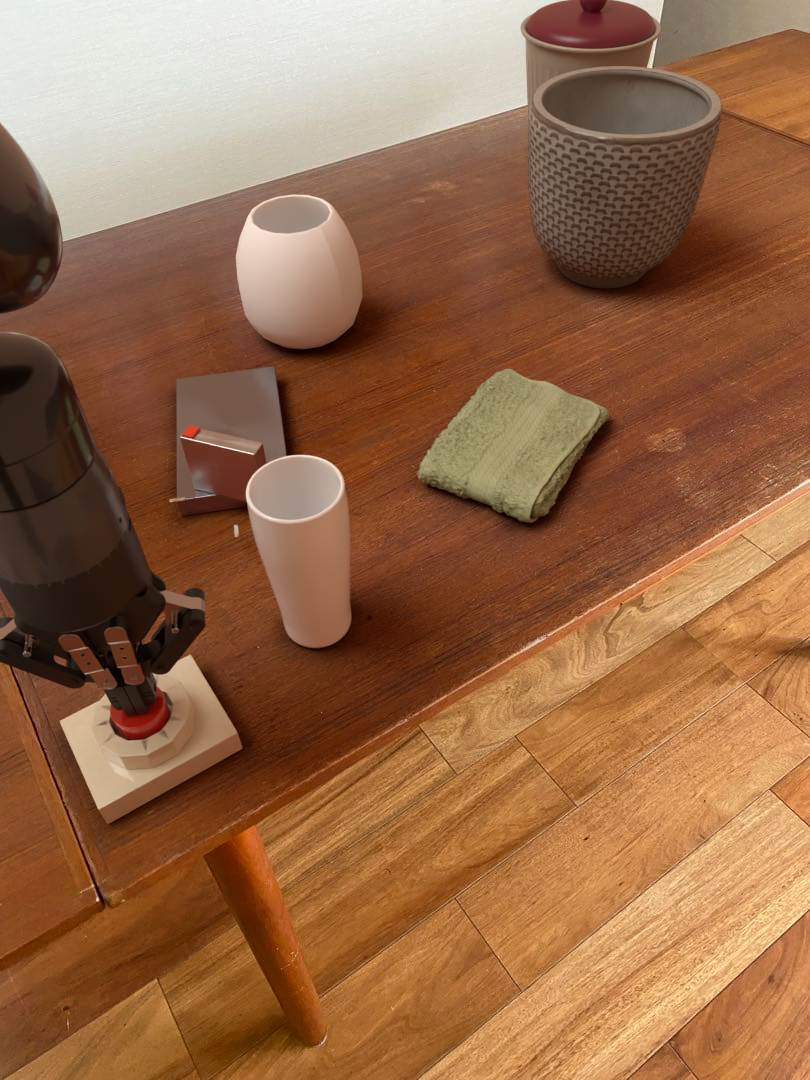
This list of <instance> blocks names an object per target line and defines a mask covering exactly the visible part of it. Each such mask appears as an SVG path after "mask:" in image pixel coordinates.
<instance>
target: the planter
mask: <svg viewBox="0 0 810 1080" xmlns="http://www.w3.org/2000/svg"><path fill="white" fill-rule="evenodd" d="M722 111H723V104H722V100H721V98H720V97H719V95H718V94H717V93H716V92H715V90H713V89H712V88H711V87H709V86H708V85H706V84H705V83H703V82H702V81H699V80H697V79H695V78H693V77H690V76H687V75H684V74H682V73H677V72H674V71H669V70H665V69H658V68H652V67H647V68H645V67H633V66H606V67H594V68H586V69H580V70H575V71H571V72H567V73H564V74H561V75H558V76H555V77H553V78H551V79H549V80H547V81H546V82H544V83H543V84H541V85H540V86H539V87H538V88H537V89H536V90H535V91H534V93H533V95H532V98H531V103H530V109H529V119H528V126H527V127H528V128H527V129H528V131H527V134H528V135H527V136H528V137H527V142H528V143H527V148H528V149H527V187H528V188H527V189H528V207H529V217H530V218H529V219H530V223H531V227H532V230H533V234H534V237H535V239H536V241H537V243H538V244H539V247H540V248H541V250H542V251H543V252H544V253H545V254H546V256H547V257H548V258H550V260H551V261H552V262H553V263H554V264H555V265H556V267H557V269H558V270H559V272H560V273H561V274H562V275H563V276H564V277H565V278H567V279H568V280H569V281H571V282H573V283H576V284H578V285H580V286H584V287H588V288H592V289H604V290H606V289H618V288H623V287H626V286H630V285H631V284H634V283H635V282H637V281H639V280H640V279H641V278H642V277H643V276H644V275H645V274H646V273H647V272H648V271H650V270H651V269H654V268H656V267H657V266H658V265H659V264H661V263H662V262H664V261H665V260H666V259H667V258H668V257H669V256H670V255H671V254H672V253H673V252H674V251H675V250H676V249H677V247H678V246H679V245H680V243H681V241H682V239H683V238H684V235H686V232H687V230H688V228H689V225H690V223H691V222H692V221H691V220H692V218H693V215H694V212H695V210H696V207H697V204H698V201H699V198H700V195H701V192H702V190H703V186H704V183H705V179H706V176H707V172H708V169H709V166H710V162H711V159H712V155H713V151H714V149H715V145H716V142H717V138H718V136H719V135H718V134H719V130H720V128H721V121H722Z"/></svg>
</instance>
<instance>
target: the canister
mask: <svg viewBox="0 0 810 1080" xmlns="http://www.w3.org/2000/svg"><path fill="white" fill-rule="evenodd" d="M520 32H521V35H522V37H523V38H525V41H524V43H525V69H526V70H525V71H526V97H527V118H528V120H529V109H530V103H531V98H532V95H533V93H534V91H535V90H536V89H537V88H538V87H539V86H540V85H541V84H543V83H544V82H546V81H547V80H549V79H551V78H553V77H555V76H558V75H561V74H564V73H567V72H571V71H575V70H580V69H586V68H594V67H606V66H633V67H645V68H648V67H649V66H648V65H649V62H650V57H651V54H652V50H653V45H654V42H655V41H656V40H657V39H658V38H659V37H660V36H661V33H662V25H661V23H660V22H659V21H658V19H656V18H655V17H653V16H652V15H651V14H650V13H649V12H648V11H647V10H645V9H643V8H641V7H640V6H637V5H635V4H632V3H628V2H625V1H620V0H560V1H556V2H553V3H549V4H547V5H544V6H542V7H540V8H538V9H537V10H535V12H533V13H532V14H530V15H528V16H527V17H525V18H524V19H523V20H522V22H521V24H520Z"/></svg>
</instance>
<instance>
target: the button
mask: <svg viewBox="0 0 810 1080" xmlns="http://www.w3.org/2000/svg"><path fill="white" fill-rule="evenodd" d="M110 715H111V718H112V720H113V722H114V724H115V726H116V728H117V729H118V731H119V733H120V734H121V735H122V736H123V737H124V738H126V739H128V740H144V739H146V738H148V737H150V736H152V735H154V734H156V733H158V732H159V731H161V730H162V729H163V727H164V726H165V725H166V723H167V722H168V720H169V717H170V710H169V706H168V704H167V702H166V699H165V697H164V695H163V693H162V691H161V690H160V688H159V687H157V686H156V702H155V704H153V705H150V711H149V713H143V714H138V715H132V716H126V715H125V713H124V711H123V710H116V709H115V708H113V707H112V705H111V706H110Z"/></svg>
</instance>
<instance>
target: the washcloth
mask: <svg viewBox="0 0 810 1080" xmlns="http://www.w3.org/2000/svg"><path fill="white" fill-rule="evenodd" d="M610 415H611V414H610V412H609V410H608V409H607V408H606V407H604V406H602V405H600V404H598V403H596V402H594V401H592V400H590V399H587V398H584V397H581V396H577V395H574V394H572V393H568V392H567V391H566V390H564V389H563V388H561V387H559V386H557V385H555V384H554V383H551V382H549V381H546V380H535V379H530V378H528V377H526V376H523V375H521V374H520V373H518V372H517V371H515V370H513V369H511V368H504V369H503V370H500V371H496V372H495V373H493V375H491V376H490V377H489V378H488V379H486V381H484V382H482V383H481V384H480V385H479V387H477V389H476V392H475V394H472V395H471V396H470V399H469V400H468V402H466V403H465V405H464V406H463V407H462V408H461V409H460V411H458V412H457V414H456V416H454V417H453V418H452V420H450V422H449V423H448V424H447V427H446V428H445V429H442V431H440V433H438V436H437V437H435V439H434V442H433V443H432V444H431V448H430V449H428V450H427V451H426V455H425V456H423V459H422V461H421V462H420V463H419V467H418V468H419V470H417V472H416V475H417V478H418V480H420V483H422V484H424V485H430V486H431V487H433V488H437V489H439V490H443V491H447V492H449V493H450V494H455V495H456V496H457V497H458V498H459V497H460V498H462V499H472V500H474V501H477V502H478V503H481V504H484V505H485V504H486V505H487V506H490V507H491V508H492V510H493V511H496V512H498V513H500V514H502V513H505V515H506V516H508V517H511V518H513V519H516V520H518V521H519V522H520V523H522V522H524V523H528V524H531V523H534V522H536V521H537V520H538V519H539V518H540V517H543V516H546V515H547V514H549V513H550V509H551V508H552V507H553V506H554V505H556V499H557V498H558V496H559V493H560V492H561V490H562V489H563V488H564V486H565V485H566V484H567V482H568V481H569V478H570V477H571V473H572V471H573V470H574V467H575V464H577V462H578V460H581V457H582V456H584V455H583V453H585V450H586V449H587V446H588V444H589V443H590V441H592V440H593V439H592V438H594V436H595V434H596V433H597V432H598V430H599V429H601V428H602V425H604V424H605V423H606V422H607V421H609V419H610V418H609V417H610Z"/></svg>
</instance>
